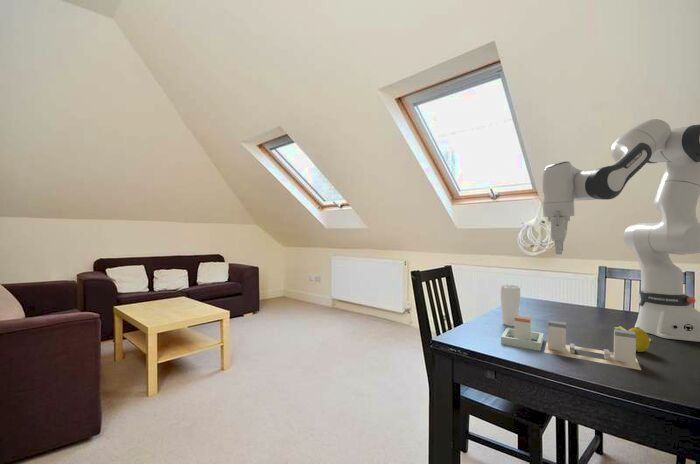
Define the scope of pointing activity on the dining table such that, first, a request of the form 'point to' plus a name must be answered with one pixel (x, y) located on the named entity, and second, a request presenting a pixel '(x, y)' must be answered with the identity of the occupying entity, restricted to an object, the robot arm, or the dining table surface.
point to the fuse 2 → (624, 346)
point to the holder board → (611, 361)
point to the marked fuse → (522, 327)
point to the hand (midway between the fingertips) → (559, 252)
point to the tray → (522, 340)
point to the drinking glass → (510, 303)
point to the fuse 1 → (557, 335)
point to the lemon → (641, 339)
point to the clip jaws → (606, 351)
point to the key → (625, 330)
